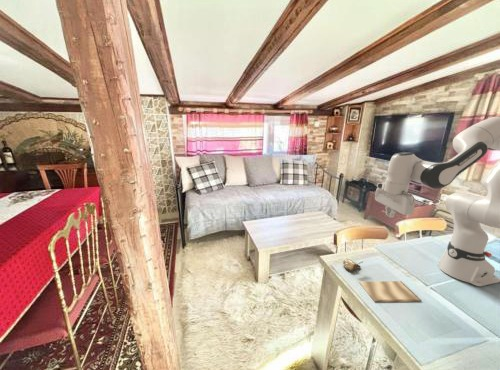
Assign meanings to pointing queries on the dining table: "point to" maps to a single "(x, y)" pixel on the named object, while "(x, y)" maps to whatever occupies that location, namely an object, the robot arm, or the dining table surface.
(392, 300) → the mat
